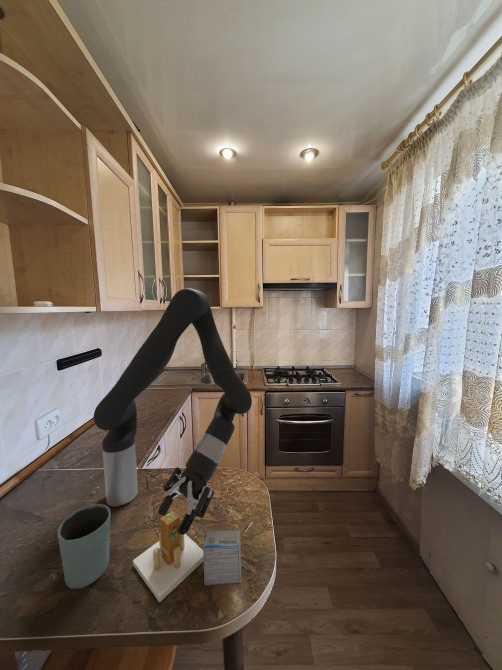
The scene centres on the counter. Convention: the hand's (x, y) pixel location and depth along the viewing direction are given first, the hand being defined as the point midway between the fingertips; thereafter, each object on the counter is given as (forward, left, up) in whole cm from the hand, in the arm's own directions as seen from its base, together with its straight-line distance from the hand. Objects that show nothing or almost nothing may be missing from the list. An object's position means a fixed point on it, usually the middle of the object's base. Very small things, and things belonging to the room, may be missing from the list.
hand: (170, 523), depth 58 cm
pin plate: (0, -1, -9) cm, 9 cm away
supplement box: (0, 0, -8) cm, 8 cm away
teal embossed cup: (-13, -14, -9) cm, 21 cm away
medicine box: (+12, +5, -9) cm, 16 cm away
